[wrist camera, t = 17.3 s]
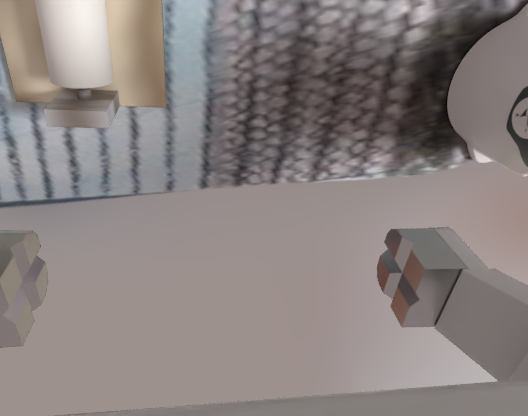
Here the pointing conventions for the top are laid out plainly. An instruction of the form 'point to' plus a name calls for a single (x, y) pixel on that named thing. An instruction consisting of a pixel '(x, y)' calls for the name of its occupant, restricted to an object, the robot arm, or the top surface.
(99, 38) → the paper roll
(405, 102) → the top surface
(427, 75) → the top surface
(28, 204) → the top surface
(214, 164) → the top surface
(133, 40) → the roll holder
